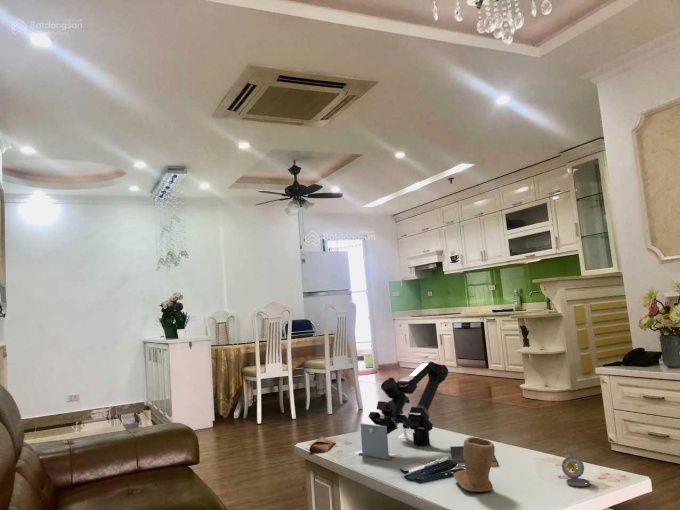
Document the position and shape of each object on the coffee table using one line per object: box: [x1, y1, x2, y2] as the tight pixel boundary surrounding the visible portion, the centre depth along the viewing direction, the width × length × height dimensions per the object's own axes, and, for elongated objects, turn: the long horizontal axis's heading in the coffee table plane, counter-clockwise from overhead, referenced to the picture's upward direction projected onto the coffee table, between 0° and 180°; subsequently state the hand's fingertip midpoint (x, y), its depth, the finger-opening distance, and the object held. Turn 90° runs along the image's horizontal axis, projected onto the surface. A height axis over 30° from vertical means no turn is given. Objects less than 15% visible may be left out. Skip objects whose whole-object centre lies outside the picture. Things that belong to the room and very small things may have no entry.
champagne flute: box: [398, 394, 413, 439], centre depth 241 cm, size 7×7×24 cm
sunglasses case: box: [308, 435, 337, 454], centre depth 227 cm, size 18×7×7 cm, turn 169°
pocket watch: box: [561, 447, 591, 488], centre depth 161 cm, size 8×8×10 cm
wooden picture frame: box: [358, 452, 403, 462], centre depth 205 cm, size 10×16×2 cm, turn 44°
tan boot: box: [453, 436, 496, 493], centre depth 164 cm, size 15×12×15 cm
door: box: [360, 422, 390, 460], centre depth 203 cm, size 2×13×12 cm, turn 44°
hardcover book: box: [450, 445, 499, 467], centre depth 197 cm, size 16×23×2 cm
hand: (380, 437), depth 206 cm, fingers closed
